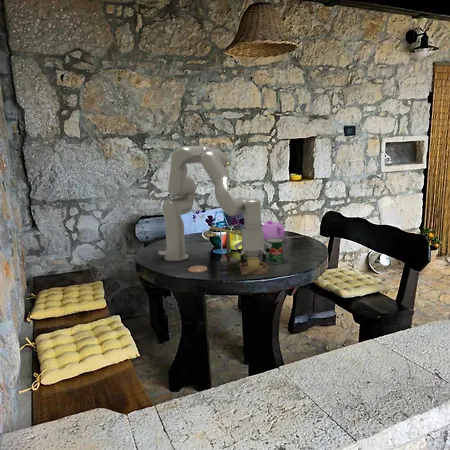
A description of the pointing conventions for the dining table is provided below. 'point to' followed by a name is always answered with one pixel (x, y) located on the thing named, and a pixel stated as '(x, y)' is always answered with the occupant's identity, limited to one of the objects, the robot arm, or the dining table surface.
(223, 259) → the balance
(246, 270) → the walnut tray
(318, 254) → the dining table surface
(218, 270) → the dining table surface
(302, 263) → the dining table surface
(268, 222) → the teakettle
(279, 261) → the canned tomato
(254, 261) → the ochre block
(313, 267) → the dining table surface
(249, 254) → the coffee cup
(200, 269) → the terracotta dish
